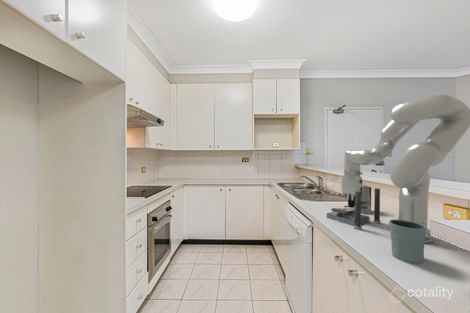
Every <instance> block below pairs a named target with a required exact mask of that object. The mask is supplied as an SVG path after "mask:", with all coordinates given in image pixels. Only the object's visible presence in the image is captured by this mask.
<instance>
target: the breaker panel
mask: <svg viewBox="0 0 470 313" xmlns="http://www.w3.org/2000/svg"><path fill="white" fill-rule="evenodd" d="M344 207H348V205H344V206H343V208H344ZM337 208H338V207H333V208H332V207H331V212H326V218H328V219H330V220H333V221H337V222H339V223H344V224H346V225H350V226H353V227H354V225H355V210H353V211H345V210H341V209H337ZM370 221H371V217H370V216H368V215H363V214H361V225H363V224H366V223H369V222H370Z"/></svg>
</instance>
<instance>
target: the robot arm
mask: <svg viewBox="0 0 470 313" xmlns="http://www.w3.org/2000/svg"><path fill="white" fill-rule="evenodd" d="M431 119H439V120H440V121H439V123H438V125H437V126H435V127H434V129H433V130H432V131H431V133H430V134H429V135H428V137H427V138H426V139H425V140H424V141H423V142H422V141H421V142H418V143H415V144H412V145H411V146H410V147H408V148H407V149H406V151H405V152H404V153H403V155H402V156H401V158H400V159H399V160H398V162H397V163H396V164H395V166H394V167H393V169H392V170H391V172H390V180H391V182H392V183H393V185H394V186H396V187H398V188H399V193H398V195H399V196H398V220H407V221H413V222H417V223H420V224H423V225H424V226H426V233H425V242H424V244H430V243H432V242H433V241H437V242H441V239H442V238H441V239H439V238H436V237H433V236H431V234H430V232H431V229H429V228H428V214H429V213H428V212H429V210H428V207H429V206H428V204H429V190H430V183H431V176H430V175H431V174H430V172H429V169H430V168H431V167H433V166H437V165H439V164H441V163H442V162H444V160H445V158H446V157H447V156H448V155H449V154H450V152H452V149H454V147H455V146H456V145H457V143H459V141H460V139H461V138H462V137H463V136H464V135H465V134H466V132H467V131H468V130H469V128H470V108H469V107H468V106H467V105H466V103H465V102H464V101H462V100H460V99H458V98H456V97H454V96H451V95H448V94H435V95H431V96H427V97H422V98H418V99H413V100H410V101H409V100H408V101H404V102H401V103H400V104H399V103H398V104H397V105H396V106H394V107H393V108H392V110H391V112H390V121H388V122H387V124H386V125H385V126H384V127H383V128H382V129H380V140H379V141H378V142H377V144H376V145H375V146H374V147H373V148H371V149H365V150H361V149H360V150H345V152H344V162H343V163H344V168H343V169H344V170H343V175H342V178H341V186H340V188H341V194H342V196H344V197H345V198H346V199H347V206H348V207H350V208H352V207H355V191H360V192H361V198H362V194H363V192H364V190H363V185H364V183H363V182H364V180H363V177H362V176H361V175H363V172H362V171H361V166H369V165H373V166H374V165H377V164H379V163H381V162H382V161H383V160H384V159H386V157H388V156H389V155H390V154H391V153H392V152H393V150H394V148H395V147H396V146H397V144H398V142H399V141H400V140H401V139H402V138H404V136H405V135H406V134H407V133H408V132H410V130H412V129H413V128H414V127H415V126H417V124H419V122H421V121H425V120H431Z"/></svg>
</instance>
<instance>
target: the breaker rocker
mask: <svg viewBox="0 0 470 313" xmlns="http://www.w3.org/2000/svg"><path fill="white" fill-rule="evenodd" d="M336 208H337V209H341V210H345V211H353V210H355V207H352V208H350V207H344V206H343V207H336Z"/></svg>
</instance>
